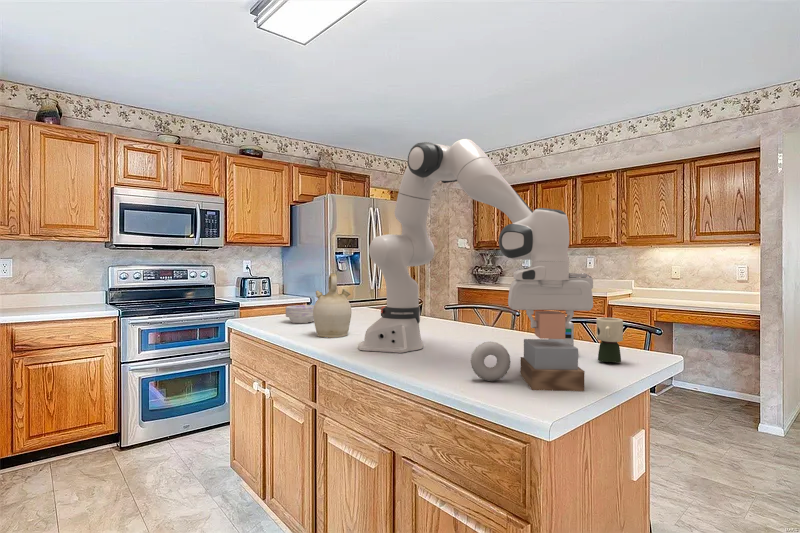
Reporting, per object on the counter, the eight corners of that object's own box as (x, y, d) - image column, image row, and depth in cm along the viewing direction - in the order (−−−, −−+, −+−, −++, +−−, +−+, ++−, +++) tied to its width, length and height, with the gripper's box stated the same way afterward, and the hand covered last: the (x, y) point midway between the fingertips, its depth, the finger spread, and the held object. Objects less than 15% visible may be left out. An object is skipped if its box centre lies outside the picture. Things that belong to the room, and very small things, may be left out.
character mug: (599, 357, 140) (599, 316, 139) (624, 360, 136) (625, 317, 136) (593, 364, 131) (593, 320, 130) (620, 367, 127) (620, 322, 126)
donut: (471, 382, 112) (471, 342, 112) (469, 378, 115) (469, 340, 115) (511, 383, 111) (511, 343, 111) (509, 379, 115) (509, 340, 115)
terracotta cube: (540, 338, 109) (540, 314, 109) (534, 334, 115) (534, 311, 115) (565, 339, 109) (565, 314, 109) (558, 334, 115) (558, 311, 115)
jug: (352, 331, 188) (352, 272, 187) (350, 338, 172) (349, 273, 172) (316, 332, 187) (315, 272, 187) (310, 338, 172) (309, 273, 171)
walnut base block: (532, 391, 106) (532, 370, 106) (520, 375, 120) (520, 357, 120) (584, 392, 105) (584, 371, 105) (566, 376, 119) (566, 357, 119)
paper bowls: (302, 319, 226) (302, 303, 226) (324, 321, 217) (324, 305, 217) (278, 322, 214) (278, 306, 214) (300, 325, 205) (300, 308, 205)
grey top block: (535, 369, 107) (535, 348, 106) (523, 357, 119) (523, 339, 118) (578, 369, 106) (578, 348, 106) (562, 358, 118) (562, 339, 118)
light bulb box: (574, 357, 140) (574, 323, 140) (551, 356, 142) (551, 322, 141) (568, 350, 151) (568, 318, 150) (547, 349, 152) (547, 318, 152)
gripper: (588, 272, 114) (588, 326, 114) (507, 272, 116) (506, 325, 116) (597, 273, 108) (596, 330, 108) (511, 273, 109) (510, 329, 110)
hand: (549, 328), depth 112 cm, fingers closed on terracotta cube, 6 cm apart
